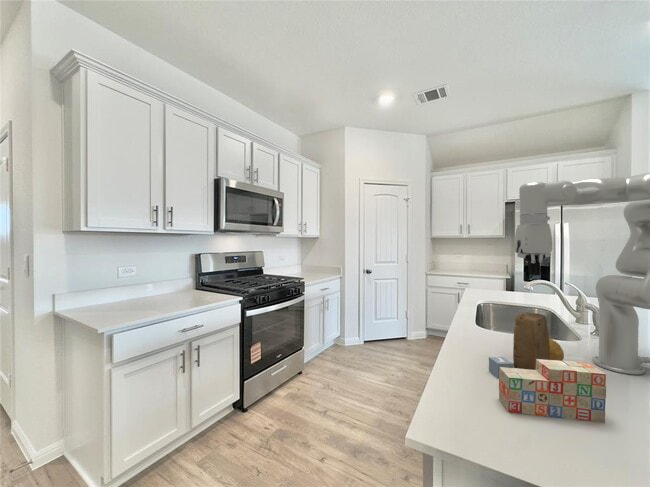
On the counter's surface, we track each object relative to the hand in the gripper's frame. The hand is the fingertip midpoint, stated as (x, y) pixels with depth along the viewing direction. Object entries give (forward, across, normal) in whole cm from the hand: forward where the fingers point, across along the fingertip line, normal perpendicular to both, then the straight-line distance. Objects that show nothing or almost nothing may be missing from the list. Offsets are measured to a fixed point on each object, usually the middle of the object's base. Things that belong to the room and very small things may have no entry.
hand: (534, 274), depth 96 cm
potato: (+33, -7, -7) cm, 34 cm away
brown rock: (+32, +4, +3) cm, 33 cm away
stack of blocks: (+32, +14, +22) cm, 42 cm away
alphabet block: (+32, +14, +3) cm, 35 cm away
